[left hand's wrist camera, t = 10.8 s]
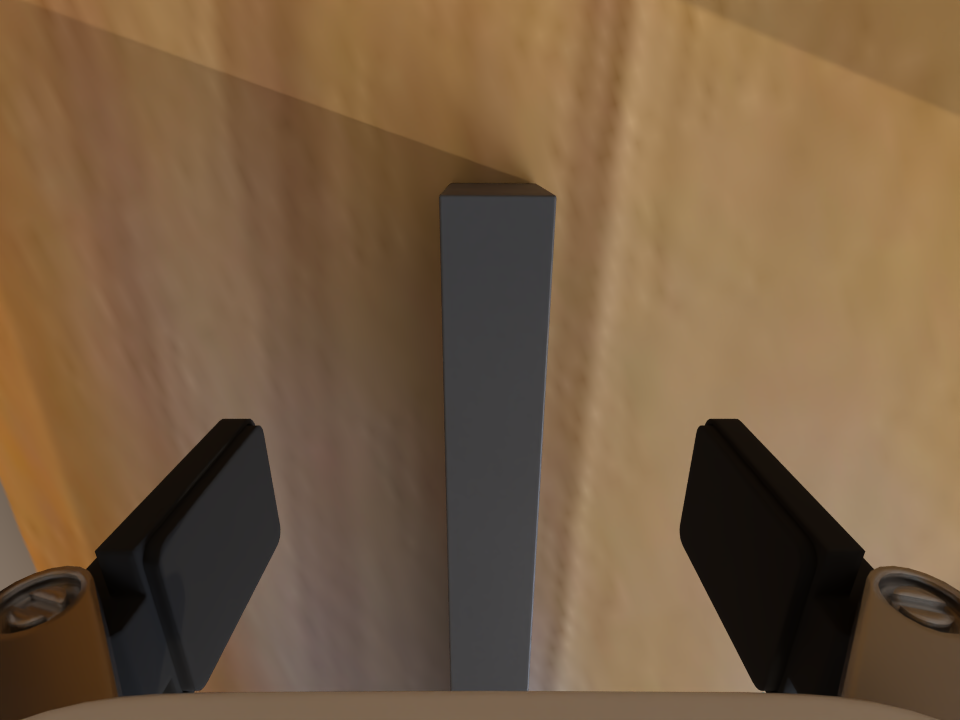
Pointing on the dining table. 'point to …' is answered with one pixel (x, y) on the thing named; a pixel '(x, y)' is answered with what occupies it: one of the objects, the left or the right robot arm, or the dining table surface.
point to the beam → (493, 420)
